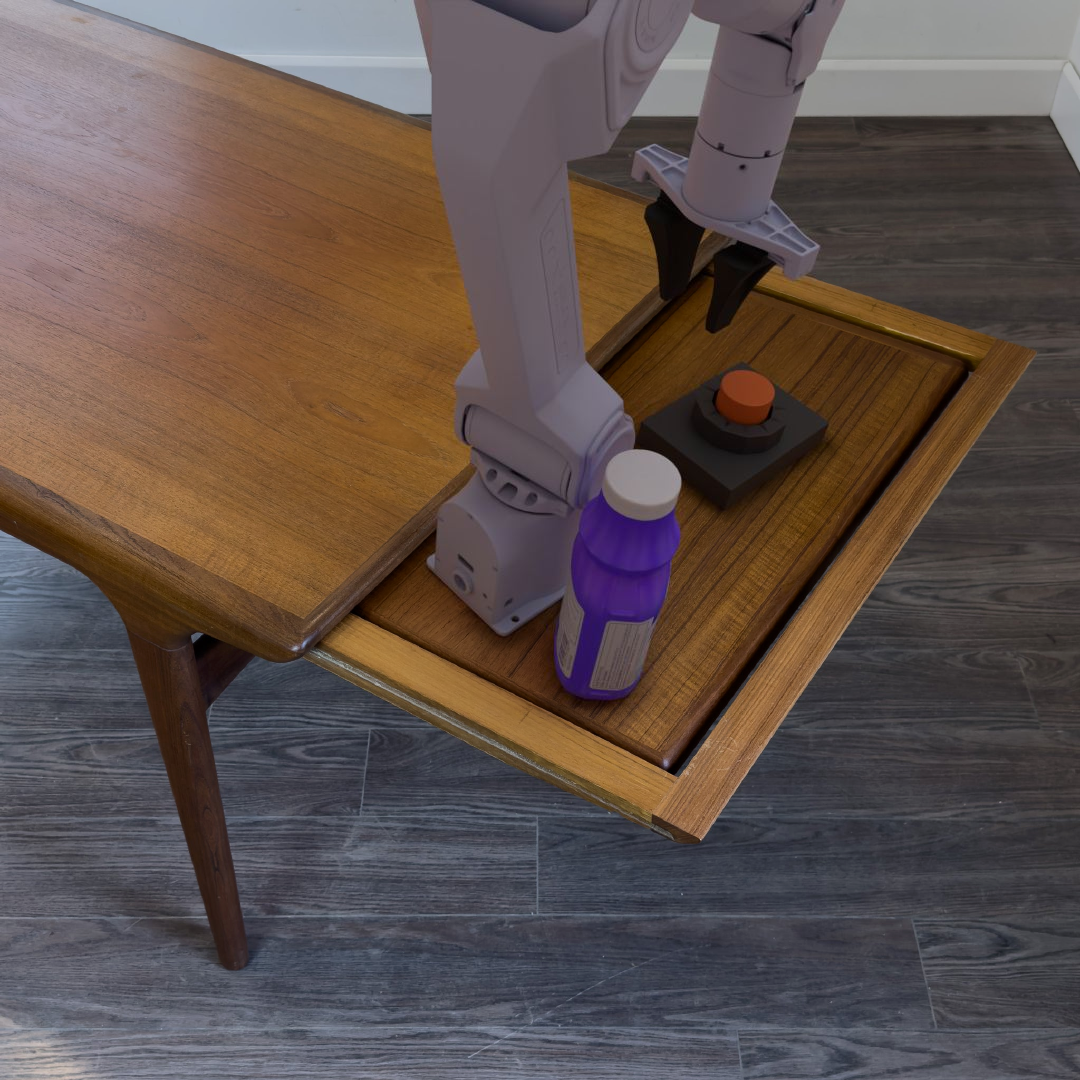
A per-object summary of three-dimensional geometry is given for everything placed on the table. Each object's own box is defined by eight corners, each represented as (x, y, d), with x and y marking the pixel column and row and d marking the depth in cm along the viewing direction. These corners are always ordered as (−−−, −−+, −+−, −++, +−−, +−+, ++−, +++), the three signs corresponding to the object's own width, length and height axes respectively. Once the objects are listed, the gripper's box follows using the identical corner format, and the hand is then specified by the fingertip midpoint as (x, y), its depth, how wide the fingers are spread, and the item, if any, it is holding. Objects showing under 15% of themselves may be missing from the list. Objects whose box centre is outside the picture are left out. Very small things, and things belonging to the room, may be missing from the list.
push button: (744, 434, 81) (752, 413, 80) (704, 404, 83) (710, 383, 81) (778, 412, 83) (785, 391, 82) (738, 383, 85) (744, 362, 83)
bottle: (640, 715, 68) (703, 530, 55) (549, 708, 68) (591, 519, 55) (636, 621, 73) (693, 430, 60) (551, 613, 73) (590, 420, 60)
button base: (724, 511, 81) (737, 473, 78) (635, 442, 85) (645, 403, 82) (821, 442, 87) (837, 405, 84) (735, 381, 91) (747, 342, 88)
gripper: (871, 168, 68) (807, 342, 78) (697, 69, 74) (658, 242, 84) (802, 204, 64) (744, 381, 74) (625, 96, 70) (593, 274, 81)
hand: (694, 310), depth 79 cm, fingers open, 4 cm apart
